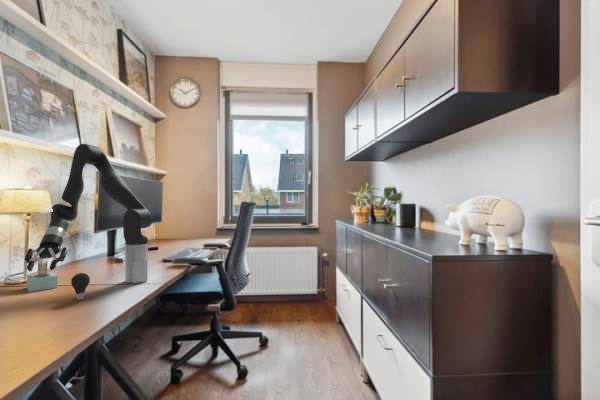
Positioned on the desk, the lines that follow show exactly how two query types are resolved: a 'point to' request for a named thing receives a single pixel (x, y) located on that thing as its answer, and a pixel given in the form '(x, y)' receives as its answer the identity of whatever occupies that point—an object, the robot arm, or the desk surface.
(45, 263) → the dowel
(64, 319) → the desk surface
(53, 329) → the desk surface
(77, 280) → the light bulb
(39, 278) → the bead block
